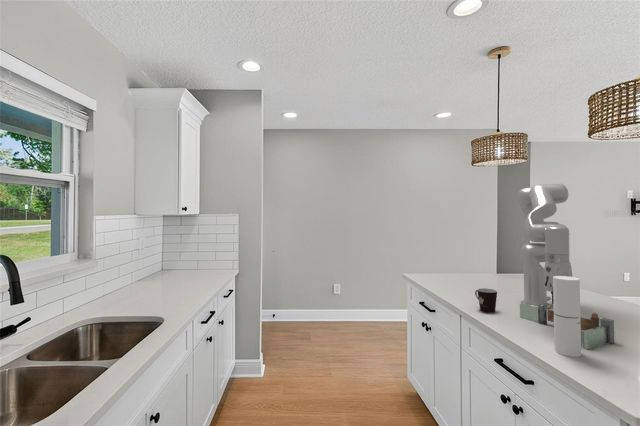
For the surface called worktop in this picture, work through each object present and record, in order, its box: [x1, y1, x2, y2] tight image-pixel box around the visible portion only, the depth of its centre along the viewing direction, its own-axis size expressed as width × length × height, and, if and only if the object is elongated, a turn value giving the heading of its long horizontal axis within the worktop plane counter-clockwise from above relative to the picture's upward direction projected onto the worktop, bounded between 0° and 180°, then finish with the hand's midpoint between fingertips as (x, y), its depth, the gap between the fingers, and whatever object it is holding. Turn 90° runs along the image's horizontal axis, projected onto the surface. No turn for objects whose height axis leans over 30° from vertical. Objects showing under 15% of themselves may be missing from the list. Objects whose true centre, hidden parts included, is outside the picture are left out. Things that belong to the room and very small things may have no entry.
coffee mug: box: [474, 287, 498, 314], centre depth 157 cm, size 12×9×10 cm
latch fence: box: [583, 317, 615, 350], centre depth 114 cm, size 15×3×8 cm, turn 115°
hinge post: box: [519, 303, 548, 326], centre depth 141 cm, size 3×11×8 cm, turn 24°
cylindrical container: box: [553, 276, 582, 358], centre depth 109 cm, size 7×7×25 cm
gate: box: [547, 309, 600, 332], centre depth 127 cm, size 17×2×9 cm, turn 25°
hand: (557, 304), depth 125 cm, fingers closed
